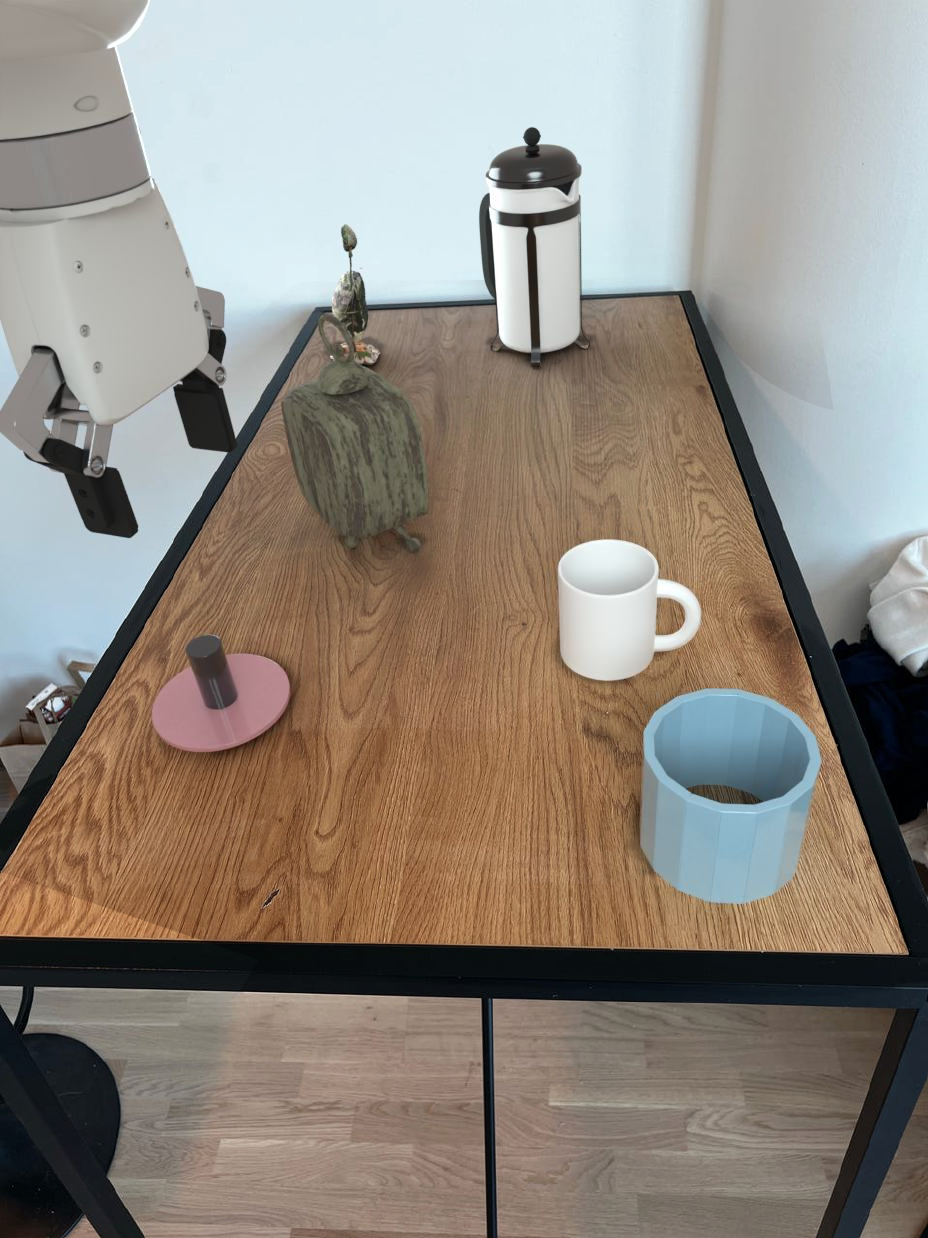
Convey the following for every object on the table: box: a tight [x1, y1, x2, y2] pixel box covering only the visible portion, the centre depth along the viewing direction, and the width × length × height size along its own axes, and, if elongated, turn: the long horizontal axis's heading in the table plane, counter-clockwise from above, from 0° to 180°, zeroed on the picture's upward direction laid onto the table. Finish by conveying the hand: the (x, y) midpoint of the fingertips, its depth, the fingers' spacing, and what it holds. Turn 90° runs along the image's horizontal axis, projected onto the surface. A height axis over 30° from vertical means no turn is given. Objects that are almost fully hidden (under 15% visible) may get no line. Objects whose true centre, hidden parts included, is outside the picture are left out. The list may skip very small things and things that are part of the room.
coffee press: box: [478, 126, 591, 367], centre depth 132 cm, size 17×16×30 cm
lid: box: [151, 634, 291, 753], centre depth 80 cm, size 12×12×7 cm
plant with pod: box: [329, 223, 381, 366], centre depth 138 cm, size 8×11×20 cm
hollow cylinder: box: [639, 687, 822, 905], centre depth 64 cm, size 11×11×10 cm
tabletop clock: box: [280, 313, 430, 554], centre depth 95 cm, size 14×9×25 cm, turn 33°
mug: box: [557, 538, 702, 682], centre depth 80 cm, size 12×8×10 cm
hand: (167, 487), depth 54 cm, fingers open, 9 cm apart
